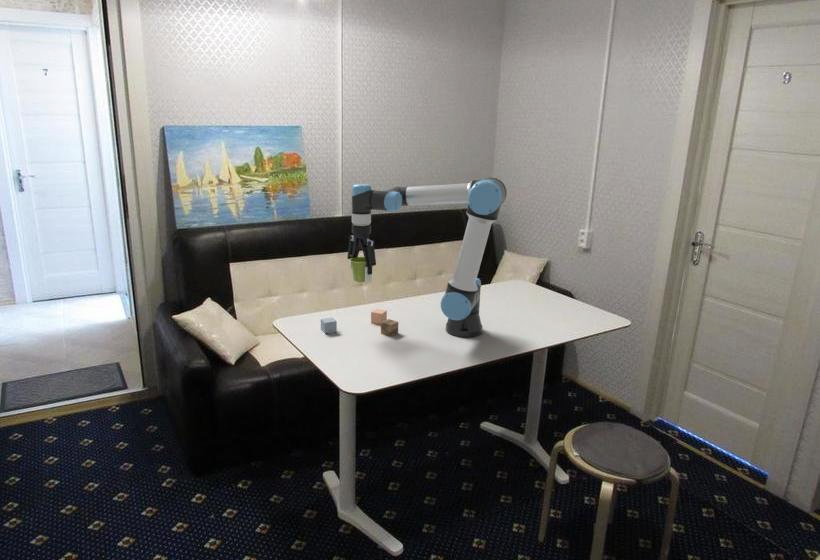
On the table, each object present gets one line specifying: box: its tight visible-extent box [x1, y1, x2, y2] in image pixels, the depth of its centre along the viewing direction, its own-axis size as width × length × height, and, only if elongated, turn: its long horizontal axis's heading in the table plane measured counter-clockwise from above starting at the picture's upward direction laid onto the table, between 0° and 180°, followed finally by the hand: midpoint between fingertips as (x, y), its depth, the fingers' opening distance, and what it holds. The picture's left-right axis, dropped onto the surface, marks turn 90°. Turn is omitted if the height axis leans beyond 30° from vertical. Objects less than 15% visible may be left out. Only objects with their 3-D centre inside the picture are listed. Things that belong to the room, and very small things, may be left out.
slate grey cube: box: [320, 317, 338, 335], centre depth 237 cm, size 5×5×5 cm
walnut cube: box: [380, 318, 399, 337], centre depth 236 cm, size 5×5×5 cm
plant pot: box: [349, 256, 367, 283], centre depth 234 cm, size 9×9×9 cm
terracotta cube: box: [370, 308, 388, 326], centre depth 249 cm, size 5×5×5 cm
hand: (361, 279), depth 235 cm, fingers closed on plant pot, 8 cm apart
